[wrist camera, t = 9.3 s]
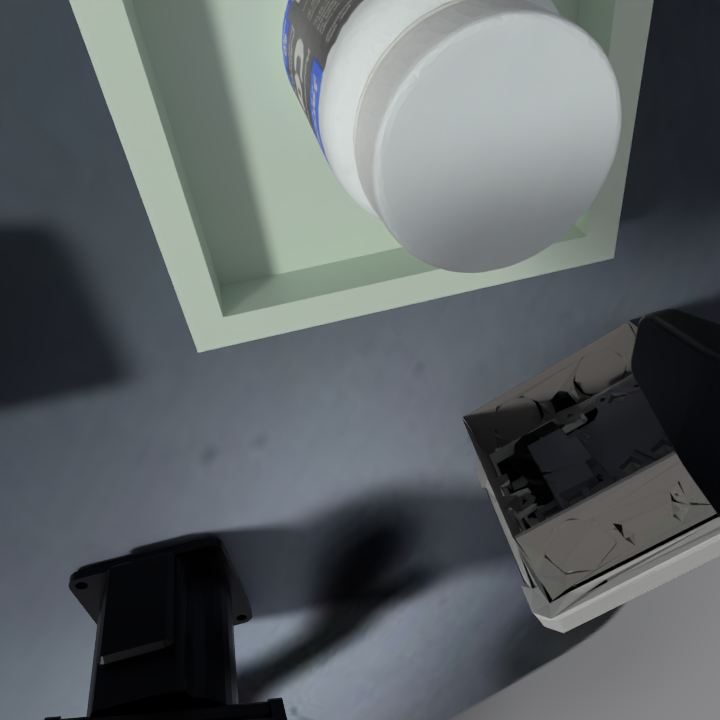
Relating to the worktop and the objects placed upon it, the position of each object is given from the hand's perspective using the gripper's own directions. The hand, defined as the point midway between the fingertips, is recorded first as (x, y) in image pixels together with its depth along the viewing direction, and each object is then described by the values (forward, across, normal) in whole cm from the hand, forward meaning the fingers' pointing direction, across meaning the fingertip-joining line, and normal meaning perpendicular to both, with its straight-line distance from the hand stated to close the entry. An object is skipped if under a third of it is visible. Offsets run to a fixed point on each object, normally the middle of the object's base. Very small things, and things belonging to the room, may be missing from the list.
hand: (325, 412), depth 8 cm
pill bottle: (+11, -4, -2) cm, 12 cm away
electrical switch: (+12, -10, +12) cm, 20 cm away
